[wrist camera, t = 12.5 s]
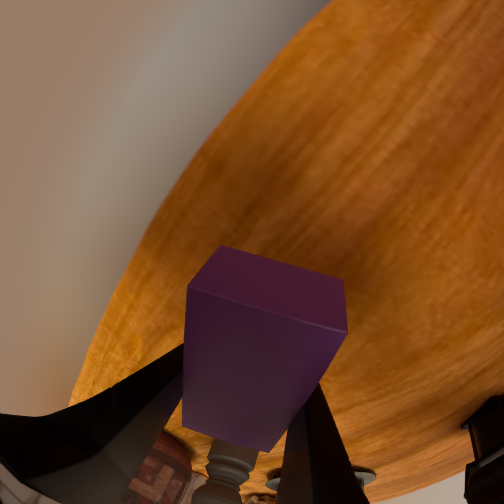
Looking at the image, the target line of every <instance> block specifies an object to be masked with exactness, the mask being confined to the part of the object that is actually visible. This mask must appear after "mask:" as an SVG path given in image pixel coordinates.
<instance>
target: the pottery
mask: <svg viewBox="0 0 504 504" xmlns="http://www.w3.org/2000/svg"><path fill="white" fill-rule="evenodd" d="M191 479H192V466H191V460H190V457H189V455H188V453H187V451H186V449H185V448H184V447H183V445H182V444H180V443H179V442H178V441H177V440H175V439H174V438H172V437H171V436H169V435H168V434H166V433H164V432H161V434H160V435H159V437H158V439H157V440H156V442H155V443H154V445H153V447H152V448H151V450H150V452H149V453H148V455H147V457H146V458H145V460H144V462H143V463H142V465H141V467H140V468H139V470H138V471H137V473H136V475H135V476H134V478H133V480H132V481H131V482H130V485H129V486H128V488H127V489H126V491H125V493H124V494H123V496H122V498H121V499H120V501H119V502H118V504H181V501H182V499H183V497H184V495H185V493H186V491H187V489H188V487H189V484H190V482H191Z"/></svg>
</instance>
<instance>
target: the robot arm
mask: <svg viewBox="0 0 504 504" xmlns="http://www.w3.org/2000/svg"><path fill="white" fill-rule="evenodd" d="M183 349H184V343H182V344H181V345H179V346H178V347H176V348H174V349H173V350H171V351H170V352H168V353H166V354H165V355H163V356H162V357H160V358H158V359H157V360H155V361H153V362H152V363H150V364H149V365H147V366H145V367H144V368H142V369H140V370H139V371H137V372H135V373H134V374H132V375H130V376H129V377H127V378H125V379H124V380H122V381H120V382H118V383H117V384H115V385H113V386H112V388H111V387H110V388H108V389H106V390H105V391H103V392H101V393H99V394H97V395H95V396H94V397H92V398H89V399H87V400H85V401H83V402H80V403H78V404H76V405H73V406H71V407H68V408H66V409H63V410H60V411H58V412H55V413H52V414H49V415H46V416H39V417H30V416H19V415H10V414H2V413H0V504H118V502H119V501H120V499H121V498H122V496H123V494H124V493H125V491H126V489H127V488H128V486H129V485H130V482H131V481H132V480H133V478H134V476H135V475H136V473H137V471H138V470H139V468H140V467H141V465H142V463H143V462H144V460H145V458H146V457H147V455H148V453H149V452H150V450H151V448H152V447H153V445H154V443H155V442H156V440H157V439H158V437H159V435H160V434H161V432H162V430H163V429H164V427H165V425H166V424H167V422H168V420H169V418H170V417H171V415H172V413H173V412H174V410H175V408H176V407H177V405H178V403H179V402H180V400H181V398H182V396H183V371H184V366H183ZM468 429H469V433H470V438H471V442H472V447H473V452H474V458H475V461H473V462H472V463H469V464H467V465H466V470H465V492H464V498H465V499H466V500H467V503H468V504H504V396H494V397H492V398H490V399H489V400H488V401H487V402H486V403H485V404H484V405H483V406H482V407H481V408H480V409H479V410H478V411H477V412H476V413H475V414H474V415H473V416H472V417H471V418H470V419H468V420H467V421H466V422H465V423H464V424H463V425H462V426H461V430H468ZM348 460H349V457H348V455H347V452H346V450H345V447H344V444H343V442H342V439H341V437H340V434H339V432H338V429H337V427H336V424H335V421H334V419H333V416H332V414H331V411H330V409H329V406H328V404H327V401H326V399H325V396H324V394H323V391H322V389H321V386H320V384H319V383H318V384H317V386H316V388H315V389H314V391H313V392H312V394H311V395H310V397H309V398H308V400H307V401H306V403H305V404H304V405H303V407H302V408H301V409H300V411H299V412H298V414H297V415H296V417H295V418H294V420H293V421H292V422H291V424H290V425H289V427H288V431H287V437H286V444H285V451H284V457H283V464H282V470H281V476H280V482H279V488H278V494H277V499H276V504H370V503H369V501H368V499H367V497H366V496H365V494H364V492H363V490H362V488H361V486H360V484H359V482H358V480H357V477H356V475H355V473H354V470H353V468H352V465H351V462H350V461H348Z"/></svg>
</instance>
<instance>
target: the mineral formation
mask: <svg viewBox="0 0 504 504" xmlns="http://www.w3.org/2000/svg"><path fill="white" fill-rule="evenodd" d="M243 504H276V499H275V498H271V497H269V496H261V497H258V496H252V497H251V498H250V499H247V500H245V501H244V502H243Z"/></svg>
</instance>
